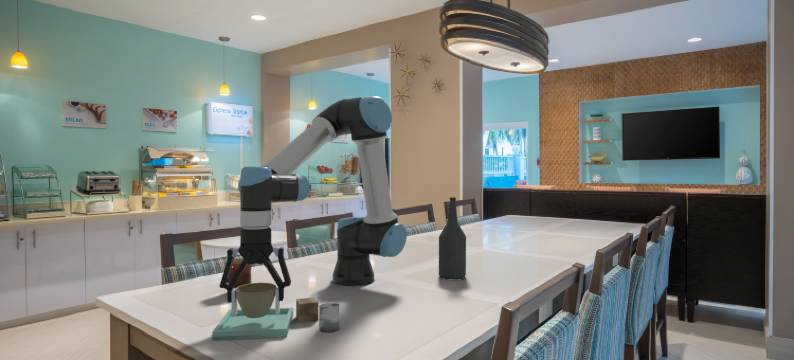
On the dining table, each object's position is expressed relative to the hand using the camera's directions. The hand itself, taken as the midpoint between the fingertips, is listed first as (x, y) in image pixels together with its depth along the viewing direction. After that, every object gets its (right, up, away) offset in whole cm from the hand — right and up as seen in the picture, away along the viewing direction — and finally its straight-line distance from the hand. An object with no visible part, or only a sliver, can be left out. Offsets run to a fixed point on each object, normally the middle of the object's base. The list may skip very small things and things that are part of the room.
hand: (256, 314), depth 115 cm
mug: (-16, -3, +31) cm, 35 cm away
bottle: (+57, -2, +55) cm, 79 cm away
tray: (0, -3, 0) cm, 3 cm away
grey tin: (+19, -3, -2) cm, 19 cm away
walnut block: (+12, -3, +6) cm, 14 cm away
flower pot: (0, 0, 0) cm, 0 cm away
